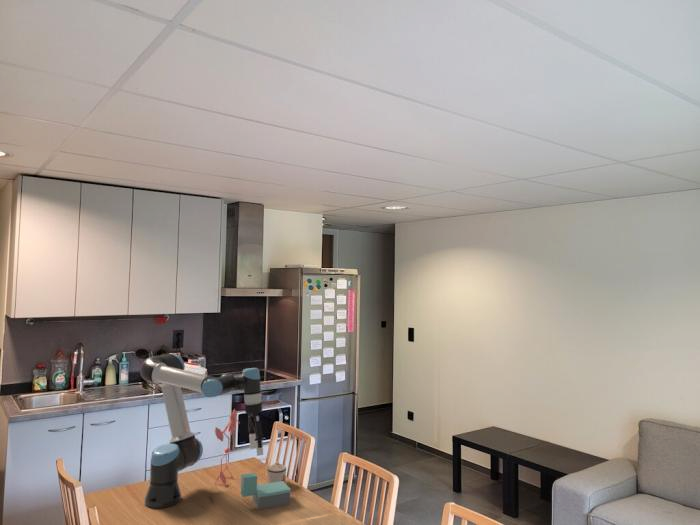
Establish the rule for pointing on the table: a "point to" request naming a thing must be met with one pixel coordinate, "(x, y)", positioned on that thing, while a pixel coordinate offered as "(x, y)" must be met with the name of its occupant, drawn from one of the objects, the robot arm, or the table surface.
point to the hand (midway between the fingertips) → (256, 451)
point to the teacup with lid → (276, 473)
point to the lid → (261, 487)
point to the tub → (271, 500)
